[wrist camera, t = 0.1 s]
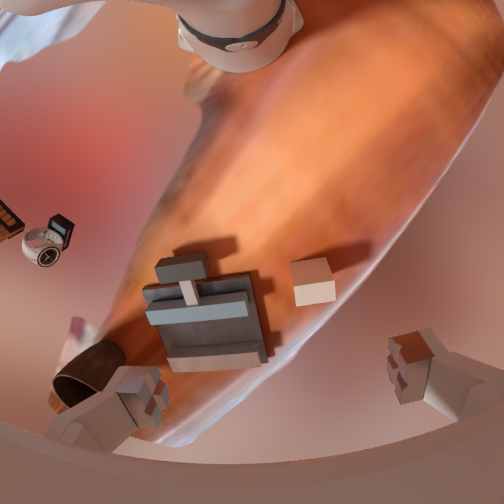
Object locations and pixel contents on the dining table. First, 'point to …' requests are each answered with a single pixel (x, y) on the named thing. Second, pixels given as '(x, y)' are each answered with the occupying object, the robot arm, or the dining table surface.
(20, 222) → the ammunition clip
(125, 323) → the dining table surface
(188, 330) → the vise bed
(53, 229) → the watch
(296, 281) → the block
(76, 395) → the plant pot
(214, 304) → the vise jaw
